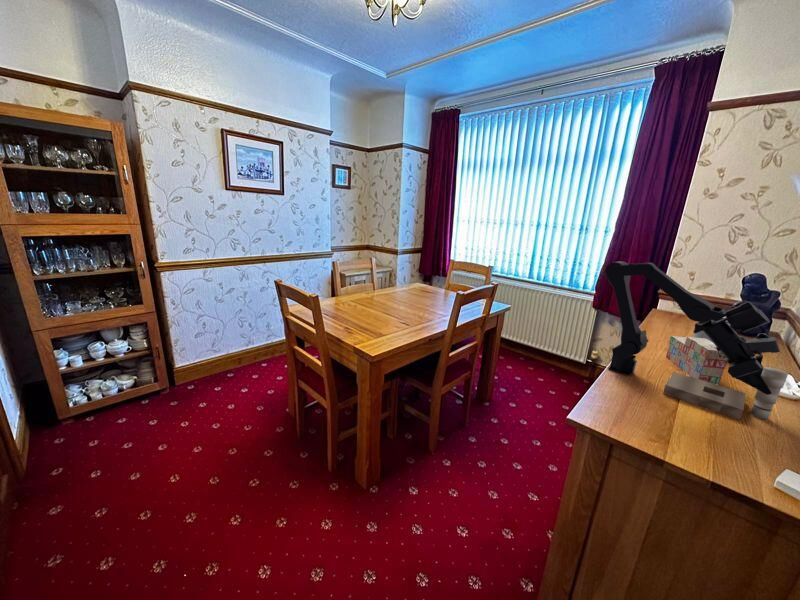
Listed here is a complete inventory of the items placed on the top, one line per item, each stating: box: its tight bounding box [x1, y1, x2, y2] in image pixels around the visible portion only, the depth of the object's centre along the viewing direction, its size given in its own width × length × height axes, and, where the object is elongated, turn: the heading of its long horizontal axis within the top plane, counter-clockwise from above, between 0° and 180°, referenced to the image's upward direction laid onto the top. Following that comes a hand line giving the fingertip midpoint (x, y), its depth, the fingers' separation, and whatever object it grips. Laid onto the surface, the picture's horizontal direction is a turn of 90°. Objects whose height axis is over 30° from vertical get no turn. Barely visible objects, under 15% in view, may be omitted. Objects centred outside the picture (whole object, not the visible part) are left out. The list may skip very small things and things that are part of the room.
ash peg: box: [750, 366, 789, 421], centre depth 89 cm, size 4×4×14 cm
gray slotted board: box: [662, 371, 747, 420], centre depth 99 cm, size 17×14×3 cm
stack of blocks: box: [665, 335, 728, 385], centre depth 117 cm, size 21×6×12 cm, turn 165°
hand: (769, 388), depth 89 cm, fingers open, 9 cm apart
